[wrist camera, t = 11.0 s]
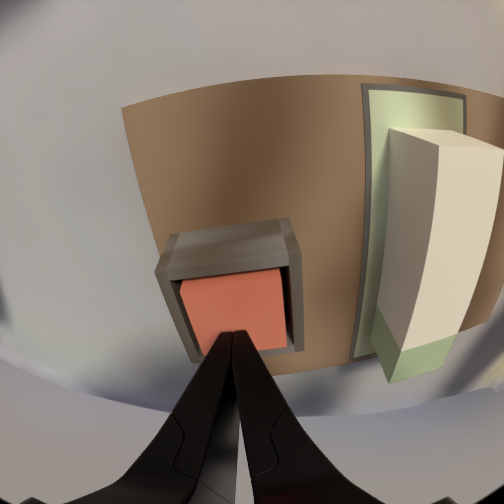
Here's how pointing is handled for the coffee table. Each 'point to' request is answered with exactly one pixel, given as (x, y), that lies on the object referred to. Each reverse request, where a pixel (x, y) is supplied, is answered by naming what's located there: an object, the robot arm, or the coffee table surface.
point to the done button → (237, 307)
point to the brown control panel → (296, 196)
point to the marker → (432, 244)
